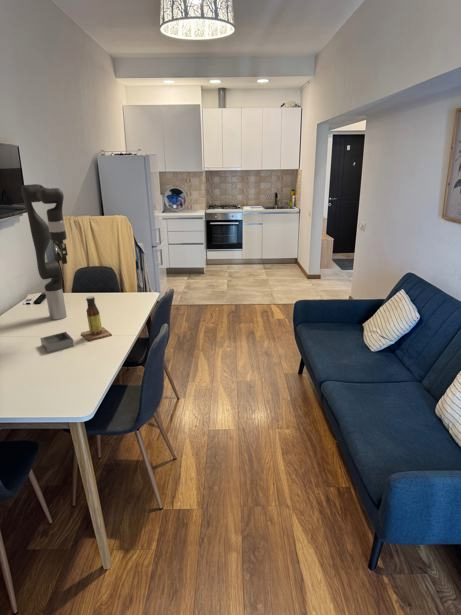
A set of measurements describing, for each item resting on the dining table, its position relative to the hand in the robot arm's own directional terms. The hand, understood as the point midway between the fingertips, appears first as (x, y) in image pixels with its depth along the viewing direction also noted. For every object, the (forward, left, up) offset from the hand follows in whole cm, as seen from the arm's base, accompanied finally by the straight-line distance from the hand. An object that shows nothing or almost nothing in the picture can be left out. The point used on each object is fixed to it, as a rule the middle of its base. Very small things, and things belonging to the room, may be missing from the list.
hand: (62, 262), depth 209 cm
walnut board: (+13, +8, -38) cm, 41 cm away
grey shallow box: (+14, -12, -38) cm, 42 cm away
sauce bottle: (+13, +8, -37) cm, 40 cm away
